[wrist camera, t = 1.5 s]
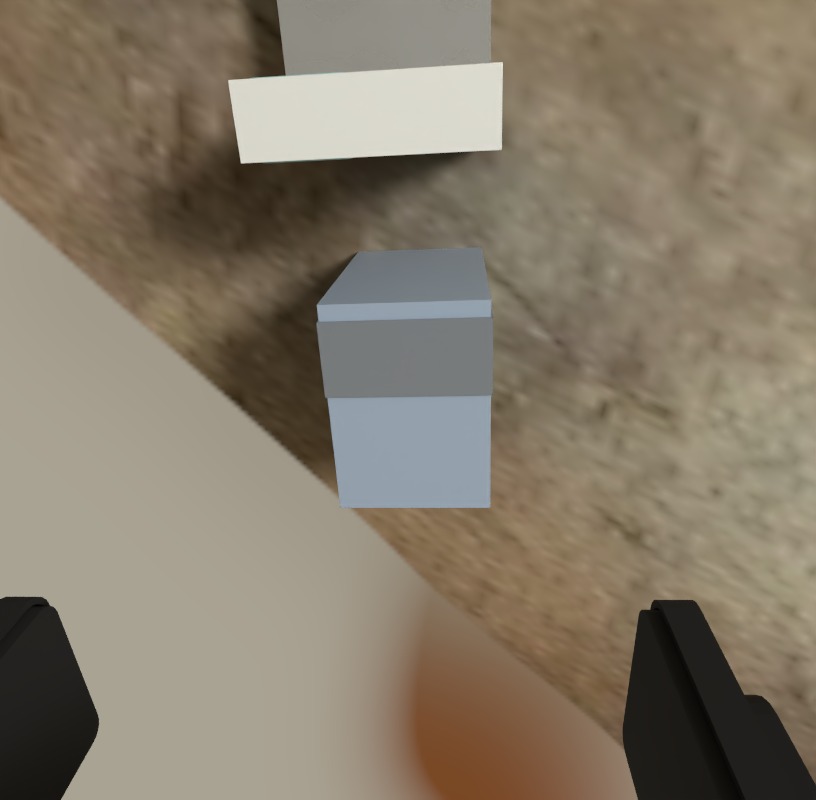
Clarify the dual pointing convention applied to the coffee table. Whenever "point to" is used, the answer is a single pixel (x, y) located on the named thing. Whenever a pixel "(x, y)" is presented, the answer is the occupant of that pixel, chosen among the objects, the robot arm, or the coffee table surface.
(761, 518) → the coffee table surface
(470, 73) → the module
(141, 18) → the coffee table surface
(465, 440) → the block
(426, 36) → the rail
